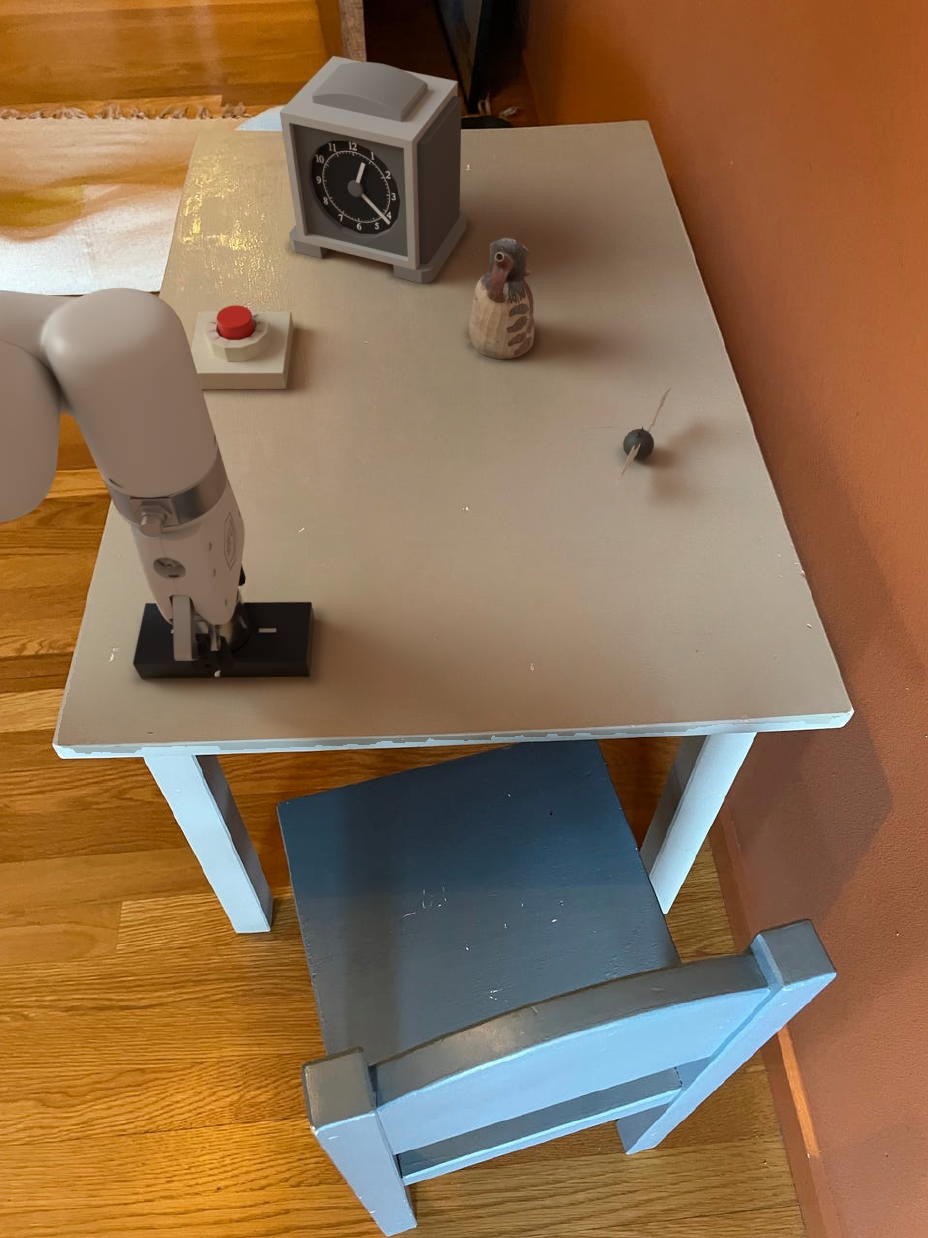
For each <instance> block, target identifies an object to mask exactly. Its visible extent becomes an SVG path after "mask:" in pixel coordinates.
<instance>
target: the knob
mask: <svg viewBox="0 0 928 1238" xmlns="http://www.w3.org/2000/svg"><path fill="white" fill-rule="evenodd" d="M243 602H244V600H243V598H242V594H241V590H240V588H239V587H238V591H237V598H236V604H235V609H234V613H233V616H232V617H231V619H230V620H229V621H228V622H227V623H226V624H219V632H220V636H224V637H225V638H226V640H227V643H228V646H229V649H230V651H231V652H232V651H234V650H236V649H238V648H239V647H241V646H242V645H243V644H244V643H245V642H246V641H247V639H248V637H249V635H250V631H251V626H250V622H249V619H248V616H247V613H246V609H245V606H244V603H243ZM195 633H208V626H207V622H195Z"/></svg>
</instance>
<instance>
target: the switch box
mask: <svg viewBox="0 0 928 1238" xmlns="http://www.w3.org/2000/svg"><path fill="white" fill-rule="evenodd" d="M245 307H246V306H245ZM246 308H248V309H249V310H250V311H251V313H252V318H253V322H254V327H255V329H254V332H253V334H252V335H251V336H250V337H247V338H244V339H242V340H227V339H225V338H224V337H222V335H221V334H220V331H219V327H218V323H217V314H218V313H219V312H220V311H221V310H199V311H198V314H197V320H196V324H195V328H194V333H193V338H192V342H191V346H190V349H191V353H192V356H193V360H194V363H195V367H196V370H197V374H198V377H199V381H200V384H201V388H202V390H286V389H287V384H288V377H289V368H290V360H291V352H292V345H293V337H294V329H295V327H294V326H295V325H294V320H293V314H292V311H291V310H257V309H253V308H251V307H246Z"/></svg>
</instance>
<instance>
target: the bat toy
mask: <svg viewBox="0 0 928 1238" xmlns="http://www.w3.org/2000/svg"><path fill="white" fill-rule="evenodd" d="M671 390H672V388H671V387H670V388H668V389H667V390H666V391H665V392H664V394H663V395H662V396H661V398H660V401H659V404H658V407H657V409H656V412H655V414H654V416H653V418H652V421H651V423H650V425H649V427H648V429H647V430H646V429H644V426H643V425H641V426H642V427H641V428H636V429H632V430H630V431H629V432H628V433H627V434H626V435H625V436H624V439H623V441H622V447H623V451H624V454H625V455H626V456H627V458H626V460H625V463H624V465H623V468H622V469H621V472H620V473H619V476H618V478H617V480H616V484H615V486H617V485H618V482H619V480H620V478H621V479H623V477H624V475H625V473H626V471H627V469H628V467H632V464H633V461H634V460H636V461H641V460H644V459H646V458H648V457H649V456H650V455H651V454H652V453H653V450H654V448H655V441H654V437H653V435H652V434H651V433H650V431H651V429H652V427H654V426H655V423H656V420H657V417H658V414H659V413H660V411H661V408H662V407H664V404H665V401H666V398H667V396H668V394H669V392H670V391H671Z"/></svg>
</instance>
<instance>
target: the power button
mask: <svg viewBox="0 0 928 1238" xmlns="http://www.w3.org/2000/svg"><path fill="white" fill-rule="evenodd" d="M248 308H249V307H248ZM248 308H246V306H243V305H237V304H236V305H229V306H225V307H224V308H221V309H220V310H219V311H220V312H219V313H218V314H217V323H218V327H219V331H220V334H221V335H222V337H224V338H225V339H227V340H242V339H244V338H247V337H250V336H251V335H252V334H253V332H254V329H255V327H254V322H253V318H252V313H251V311H250V310H249V309H248Z"/></svg>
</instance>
